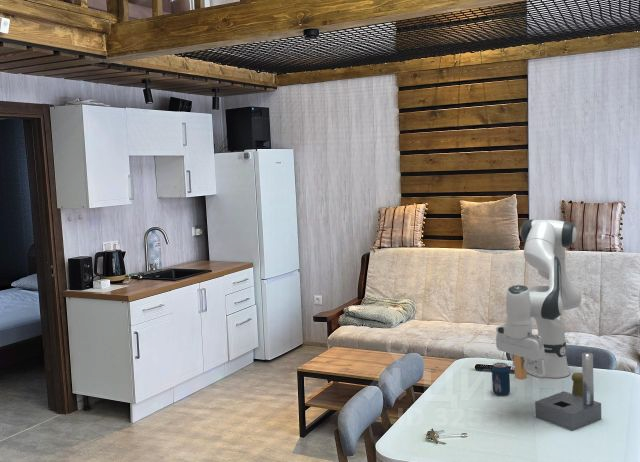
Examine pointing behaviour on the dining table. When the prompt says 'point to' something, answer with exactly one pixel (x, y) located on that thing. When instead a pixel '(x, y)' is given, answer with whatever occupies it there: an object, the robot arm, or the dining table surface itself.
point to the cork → (577, 384)
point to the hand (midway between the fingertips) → (520, 367)
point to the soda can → (500, 379)
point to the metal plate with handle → (572, 403)
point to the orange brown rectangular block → (519, 368)
